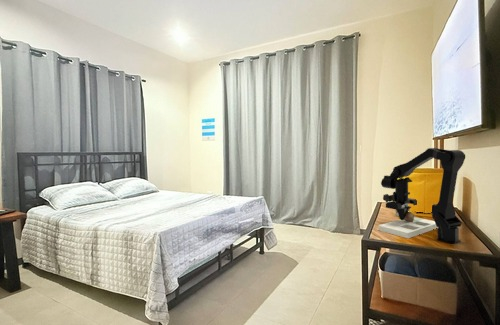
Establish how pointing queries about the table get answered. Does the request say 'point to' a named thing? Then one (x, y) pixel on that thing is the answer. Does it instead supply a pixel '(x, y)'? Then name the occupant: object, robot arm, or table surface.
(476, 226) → the table surface
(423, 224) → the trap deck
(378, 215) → the table surface
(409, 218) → the walnut block
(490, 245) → the table surface
